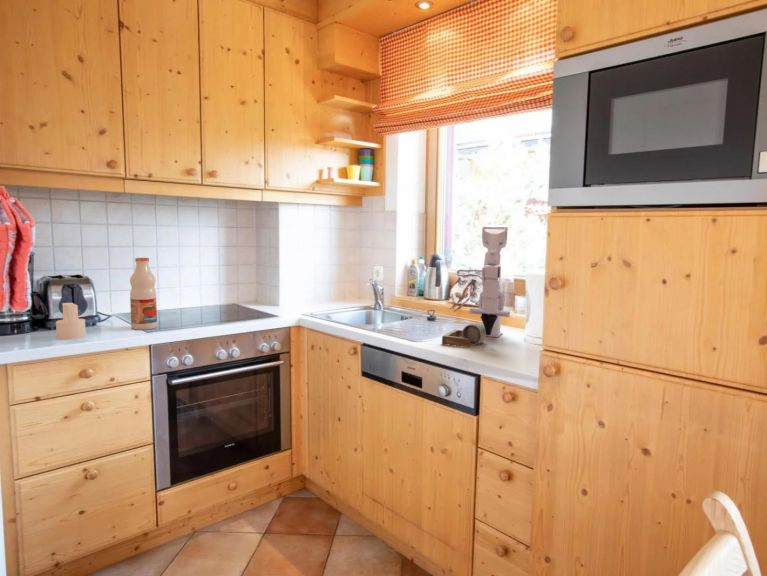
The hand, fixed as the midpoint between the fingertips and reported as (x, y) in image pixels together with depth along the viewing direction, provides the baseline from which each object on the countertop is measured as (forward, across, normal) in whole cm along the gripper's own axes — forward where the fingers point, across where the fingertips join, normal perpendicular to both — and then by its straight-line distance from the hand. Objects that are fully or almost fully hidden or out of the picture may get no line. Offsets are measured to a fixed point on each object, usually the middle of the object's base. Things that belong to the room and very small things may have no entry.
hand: (488, 334), depth 185 cm
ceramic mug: (+4, -7, 0) cm, 8 cm away
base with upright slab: (+4, -135, -70) cm, 152 cm away
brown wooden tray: (+4, -9, 0) cm, 10 cm away
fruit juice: (+4, -128, -45) cm, 136 cm away
